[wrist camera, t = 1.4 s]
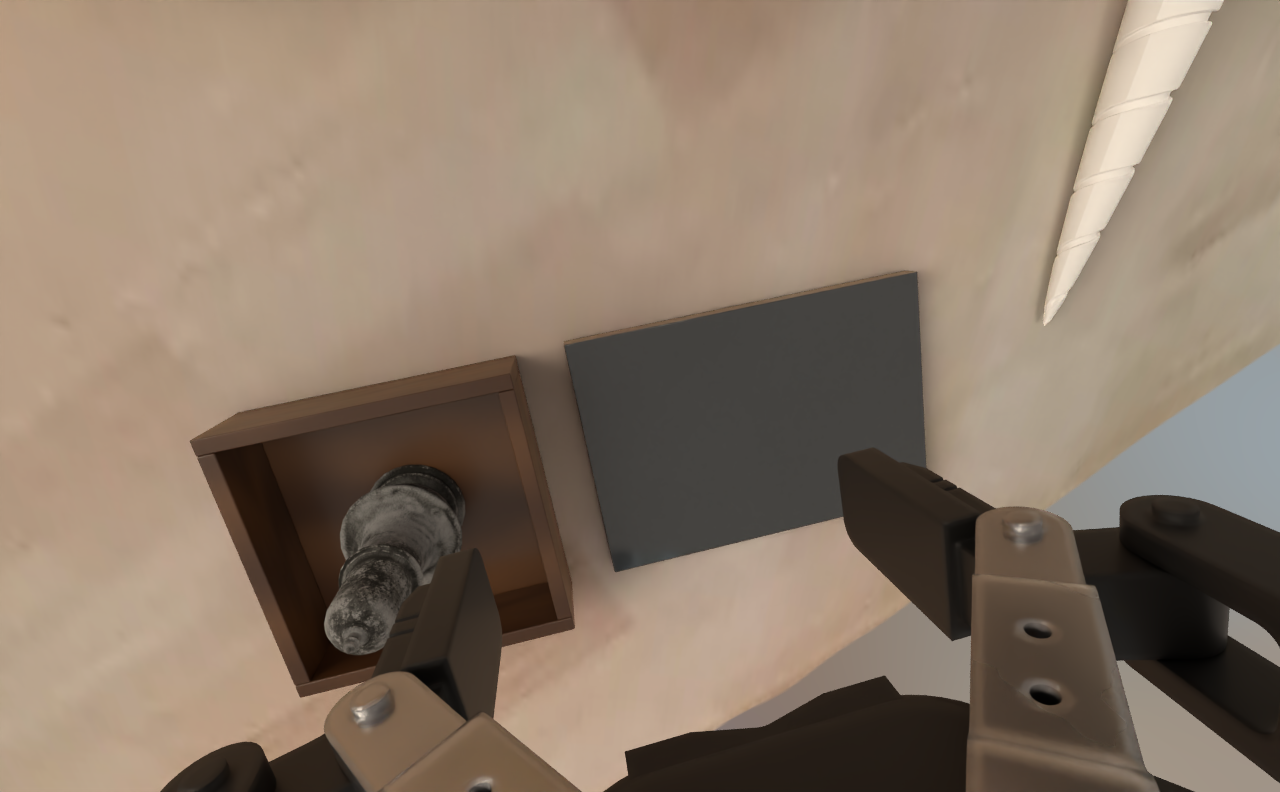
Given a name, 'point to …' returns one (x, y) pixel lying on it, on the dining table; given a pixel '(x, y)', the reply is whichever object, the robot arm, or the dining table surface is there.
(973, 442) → the dining table surface
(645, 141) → the dining table surface
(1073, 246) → the unicorn horn
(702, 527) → the slate board
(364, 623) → the stone chess piece
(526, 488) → the wooden box
